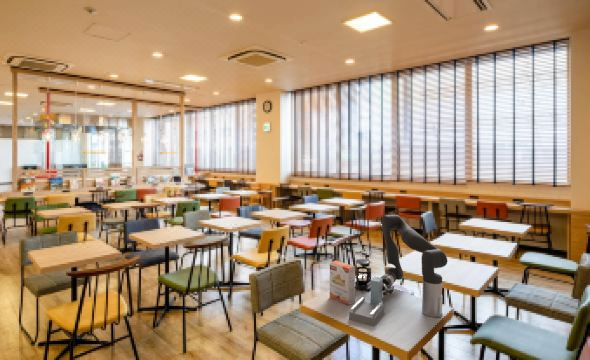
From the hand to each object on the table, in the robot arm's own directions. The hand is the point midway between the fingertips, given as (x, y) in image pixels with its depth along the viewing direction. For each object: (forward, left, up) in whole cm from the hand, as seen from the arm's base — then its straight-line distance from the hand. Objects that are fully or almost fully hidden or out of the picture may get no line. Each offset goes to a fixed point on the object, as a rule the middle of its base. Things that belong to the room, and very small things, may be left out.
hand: (375, 292), depth 188 cm
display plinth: (0, +13, -8) cm, 15 cm away
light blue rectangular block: (0, -1, -8) cm, 8 cm away
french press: (+15, -20, -8) cm, 26 cm away
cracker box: (+19, +2, -8) cm, 21 cm away
